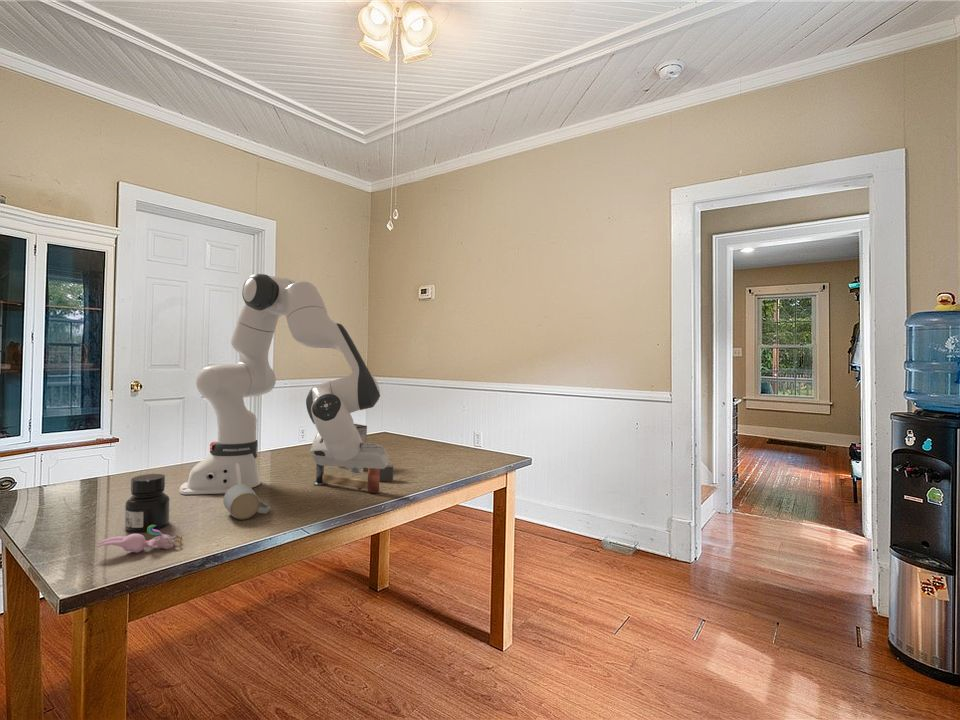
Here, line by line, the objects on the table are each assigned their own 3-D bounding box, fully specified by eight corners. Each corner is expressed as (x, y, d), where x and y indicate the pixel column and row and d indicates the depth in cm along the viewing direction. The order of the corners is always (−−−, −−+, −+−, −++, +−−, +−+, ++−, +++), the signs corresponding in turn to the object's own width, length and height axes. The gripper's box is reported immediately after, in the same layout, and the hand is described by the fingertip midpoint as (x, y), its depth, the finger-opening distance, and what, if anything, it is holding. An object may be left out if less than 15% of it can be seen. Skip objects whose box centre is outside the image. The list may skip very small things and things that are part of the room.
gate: (319, 485, 155) (320, 452, 155) (327, 482, 158) (328, 450, 158) (374, 494, 147) (375, 459, 147) (381, 490, 150) (382, 457, 150)
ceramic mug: (229, 523, 120) (231, 493, 120) (222, 514, 126) (223, 485, 126) (273, 516, 127) (275, 487, 127) (264, 507, 133) (265, 480, 133)
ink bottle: (121, 524, 117) (122, 476, 117) (164, 516, 123) (164, 470, 123) (128, 536, 110) (129, 484, 110) (173, 527, 117) (174, 478, 116)
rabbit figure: (180, 546, 109) (98, 548, 101) (185, 520, 109) (104, 519, 102) (179, 557, 104) (92, 559, 96) (185, 529, 104) (99, 529, 96)
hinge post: (313, 486, 154) (314, 442, 154) (312, 482, 158) (313, 440, 158) (326, 485, 156) (327, 442, 156) (325, 481, 160) (326, 440, 159)
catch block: (377, 481, 162) (378, 466, 162) (378, 479, 164) (378, 465, 164) (392, 481, 162) (393, 466, 162) (392, 479, 165) (393, 465, 165)
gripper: (385, 435, 127) (395, 463, 137) (312, 431, 129) (327, 459, 139) (379, 455, 122) (390, 483, 132) (304, 451, 125) (320, 478, 135)
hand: (357, 471), depth 136 cm, fingers closed
